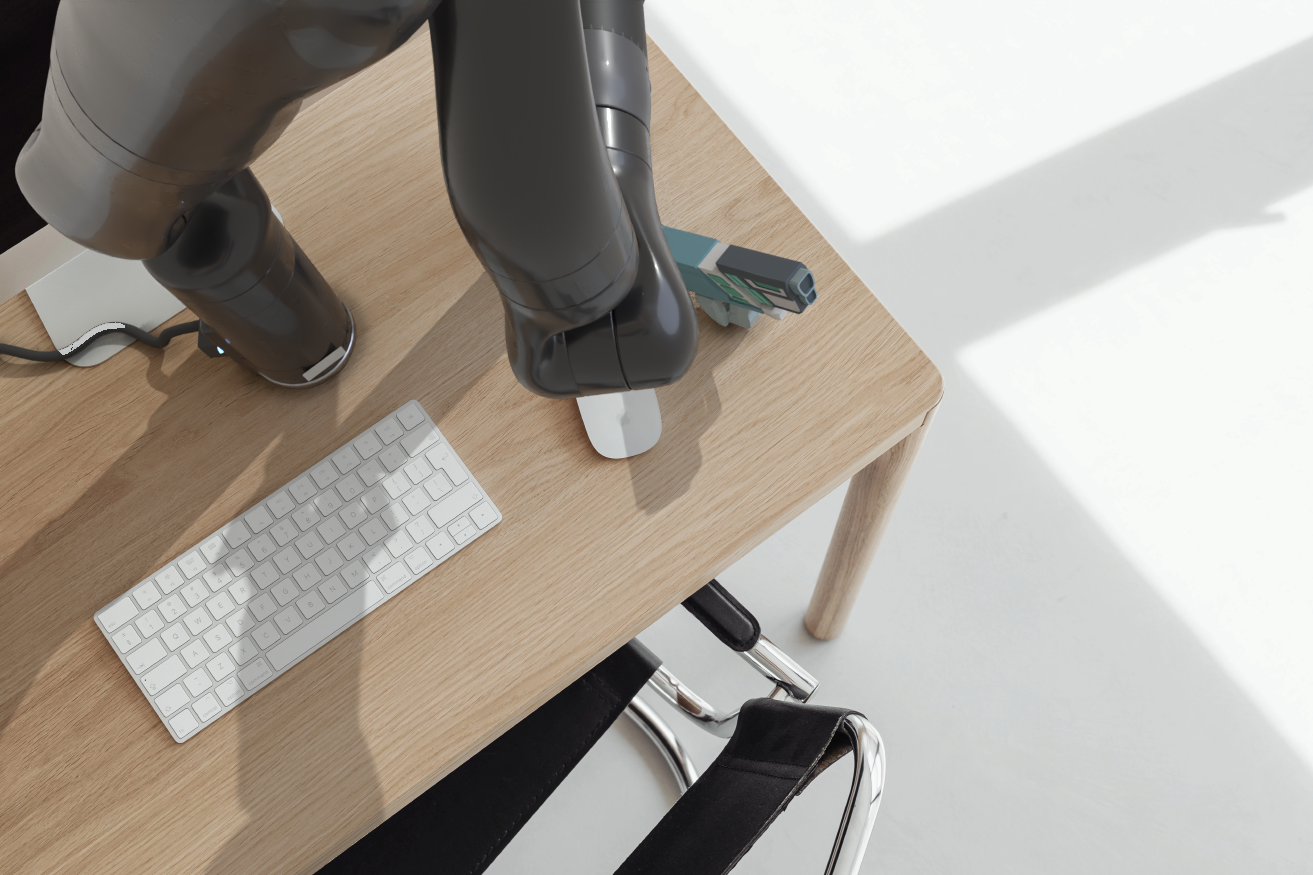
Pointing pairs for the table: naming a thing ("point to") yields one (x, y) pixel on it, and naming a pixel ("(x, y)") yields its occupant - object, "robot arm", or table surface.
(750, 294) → the toy gun
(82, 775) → the table surface
